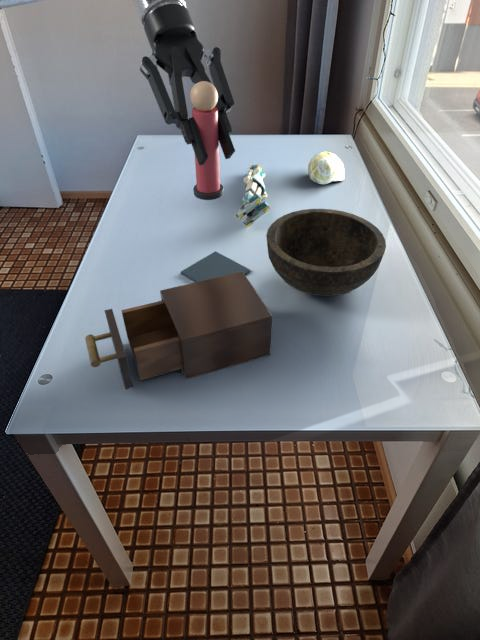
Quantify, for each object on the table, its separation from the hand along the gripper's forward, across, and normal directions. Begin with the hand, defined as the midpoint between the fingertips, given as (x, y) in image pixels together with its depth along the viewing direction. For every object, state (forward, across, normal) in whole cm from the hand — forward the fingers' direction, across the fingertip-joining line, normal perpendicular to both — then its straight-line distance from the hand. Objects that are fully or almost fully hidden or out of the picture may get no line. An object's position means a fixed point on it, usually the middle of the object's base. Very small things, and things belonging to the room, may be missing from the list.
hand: (217, 157), depth 75 cm
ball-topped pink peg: (+3, 0, -8) cm, 9 cm away
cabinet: (+27, +8, -9) cm, 30 cm away
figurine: (-1, -23, -38) cm, 45 cm away
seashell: (-1, -46, -38) cm, 60 cm away
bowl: (+24, -18, -13) cm, 33 cm away
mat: (+15, -1, -22) cm, 26 cm away
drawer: (+26, +19, -10) cm, 34 cm away
